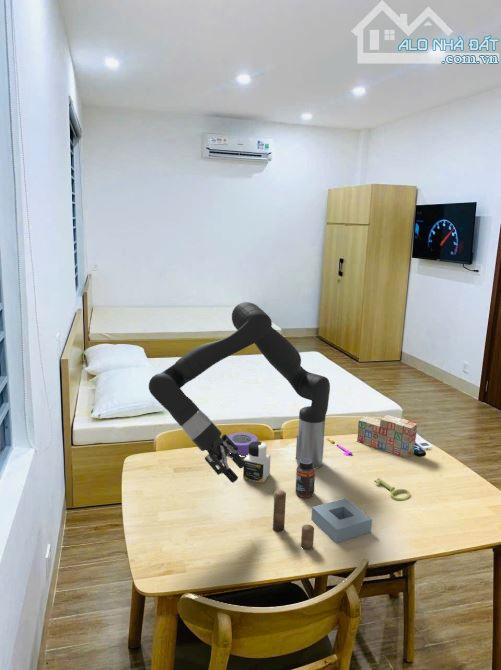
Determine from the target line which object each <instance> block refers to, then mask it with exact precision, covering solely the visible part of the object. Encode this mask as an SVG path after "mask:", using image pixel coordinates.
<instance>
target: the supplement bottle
mask: <svg viewBox="0 0 501 670" xmlns="http://www.w3.org/2000/svg"><path fill="white" fill-rule="evenodd" d="M312 465H313V464H312V460H311V459H307V458H303V459H301V460H300V465H297V467H296V471H295V472H296V473H295V475H296V476H295V494H296V495H297V496H298V497H300V498H311V497H312V496H314V494H315V479H316V468H314V467H313V466H312Z"/></svg>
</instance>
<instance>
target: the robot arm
mask: <svg viewBox="0 0 501 670" xmlns="http://www.w3.org/2000/svg"><path fill="white" fill-rule="evenodd" d="M231 322H232V325H233V326H234V328H235V329H236V331H234V332H233V333H232V334H230V335H229V336H226V337H224V338H221V339H218V340H215V341H210V342H207V343H203V344H200V345H198V346H197V347H195V348H193V349H191V350H190V351H188V352H186V354H184V355H183V356H181V357H180V358H179V359H177V361H176V362H175V363H174V364H173V365H171V366H170V367H168V368H167V369H165V370H163V371H162V372H160V373H156V374H155V375H153V376H152V377H151V378H150V380H149V382H148V390H149V393H150V394H151V396H152V397H153V398H154V399H155V400H156V401H157V402H158V403H159V404H160V405H161V406H162V407H163V408H164V409H165V410H167V412H168V413H169V414H170V416H171V417H172V418H173V419H174V421H175V422H176V423H177V424H178V425H179V426H180V427H181V428H182V430H183V432H184V433H185V434H186V435H187V437H188V438H189V439H190V440H191V441H192V443H194V445H195V446H196V447H197V448H198V449H199V450H200V452H205V451H207V455H206V456H205V457H204V460H205V461H206V463H207V464H208V465H209V466H210V468H212V470H214V472H215V473H216V475H217V476H219V475H220V474H223V475H224V476H225V477H226V478H227V479H228V480H229V482H231V483H235V482H236V481H237V480H238V479H239V476H238V475H237V474H236V473H235V472H234V471H233V470H232V469H231V467H229V466H230V465H228V458H230V459H231V460H232V461H233V462H234V464H235V465H236V466H237V467H238V469H243V467H244V466H245V464H246V463H245V462H244V459H243V458H241V457H240V456H239V455H238V452H237V450H238V447H237V446H236V445H235V444H234V443H233V442H232V441H231V440H230V439H229V438H228V435H227V434H222V431H221V430H220V429H219V428H218V427H217V426H216V424H214V422H213V421H212V420H211V419H210V418H209V416H208V415H207V414H205V413H204V412H203V411H202V410H201V409H200V408H199V407H198V406H197V404H195V402H194V401H193V400H192V399H191V398H190V397H188V396H187V395H186V394H185V392H183V390H182V389H181V388H183V386H185V385H186V384H188V383H189V382H190V381H192V380H195V379H196V378H197V377H198V376H200V375H202V374H203V373H204V372H205V371H207V370H208V369H210V368H211V367H212V366H214V365H216V364H218V363H219V362H220V361H222V360H224V359H226V358H228V357H230V356H232V355H234V354H236V353H238V352H240V351H243V349H246V348H248V347H250V346H252V345H254V344H255V346H256V348H258V350H259V352H260V353H261V355H262V356H264V358H265V359H266V360H267V362H268V363H269V364H270V365H271V366H272V367H273V368H274V369H275V370H276V371H278V373H280V375H281V376H282V377H283V378H284V379H286V380H287V382H288V383H289V384H290V386H291V387H292V388H293V390H294V392H296V394H297V395H298V396H299V397H301V398H303V399H305V400H306V399H307V400H309V401H311V405H308V406H304V407H302V408H300V410H299V412H298V413H299V414H298V430H297V431H298V432H297V433H298V434H297V435H296V449H295V460H296V463H297V466H299V465H300V460H301V459H303V458H307V459H311V460H312V464H313V465H312V466H313V467H314V468H315V469H319V468H321V467H322V466H323V459H324V447H325V445H324V444H325V430H326V416H327V413H328V408H329V400H330V392H331V384H330V380H329V379H328V378H327V377H326V376H324V375H320V374H316V373H313V372H310V371H307V370H306V369H304V367H303V366H302V357H301V355H300V353H299V351H298V349H296V347H295V346H294V345H293V344H292V343H291V342H290V341H289V340H288V339H287V338H286V337H285V336H284V335H283V334H281V333H280V332H279V331H277V330H276V329H275V328H274V327H272V326H273V323H272V322H273V321H272V319H271V317H270V316H269V314H267V313H266V312H265V311H264V310H263V309H261V308H260V307H259V305H257V304H255V303H252V302H248V301H246V302H245V301H244V302H243V301H242V302H240V303H238V304H237V305H235V307H234V308H233V310H232V313H231ZM230 445H231V446H230ZM230 453H231V454H230Z"/></svg>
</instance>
